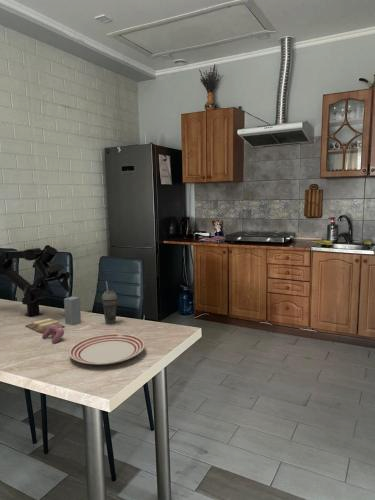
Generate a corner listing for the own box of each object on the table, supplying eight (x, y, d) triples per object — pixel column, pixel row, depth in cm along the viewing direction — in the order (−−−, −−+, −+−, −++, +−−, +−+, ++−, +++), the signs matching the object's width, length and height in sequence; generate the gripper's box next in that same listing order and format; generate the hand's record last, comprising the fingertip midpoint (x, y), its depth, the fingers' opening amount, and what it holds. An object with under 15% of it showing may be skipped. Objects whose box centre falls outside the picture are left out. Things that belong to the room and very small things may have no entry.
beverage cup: (116, 325, 173) (115, 282, 171) (100, 325, 173) (99, 282, 171) (119, 320, 180) (118, 279, 178) (104, 320, 180) (103, 279, 178)
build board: (25, 326, 173) (25, 321, 172) (47, 320, 181) (47, 315, 181) (42, 333, 163) (41, 327, 163) (64, 327, 171) (64, 321, 171)
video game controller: (61, 345, 153) (68, 328, 155) (52, 343, 150) (58, 326, 152) (50, 339, 160) (56, 323, 162) (40, 337, 157) (46, 321, 158)
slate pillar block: (65, 323, 177) (64, 298, 175) (73, 320, 181) (72, 296, 179) (72, 325, 174) (71, 300, 173) (80, 322, 178) (79, 297, 177)
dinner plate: (112, 377, 122) (111, 367, 121) (53, 361, 135) (52, 352, 134) (159, 348, 145) (158, 340, 145) (104, 337, 159) (104, 329, 158)
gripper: (34, 260, 173) (51, 286, 168) (67, 255, 188) (83, 279, 184) (25, 275, 178) (41, 301, 173) (57, 269, 193) (73, 293, 189)
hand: (61, 293), depth 180 cm, fingers open, 9 cm apart
